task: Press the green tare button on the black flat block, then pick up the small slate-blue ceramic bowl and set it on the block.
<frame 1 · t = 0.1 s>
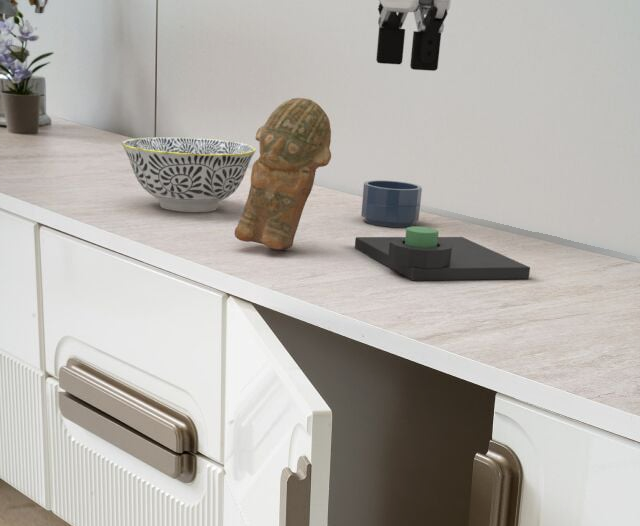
hand: (405, 66, 132), 18 cm above the tv stand, tool pointing down, fingers open, 9 cm apart
tare button: (421, 238, 111), point 3 cm above the tv stand, slide at 0.1 cm
black flat block: (438, 262, 118), on the tv stand
bowl: (188, 209, 138), on the tv stand
figurine: (281, 251, 119), on the tv stand
small bowl: (389, 222, 138), on the tv stand
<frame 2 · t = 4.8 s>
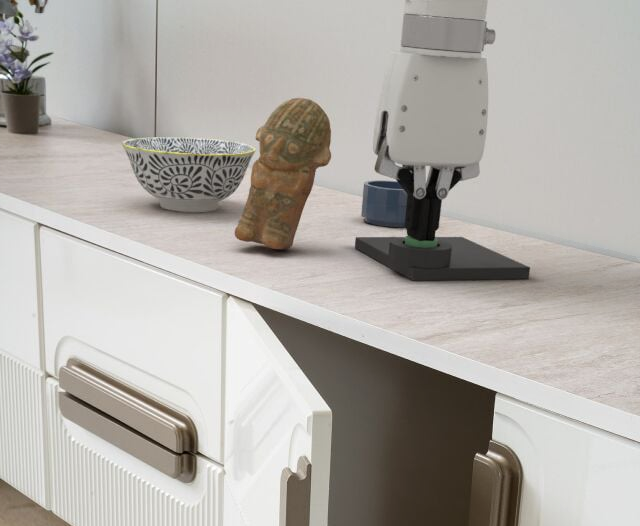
hand: (420, 237, 111), 4 cm above the tv stand, tool pointing down, fingers closed
tare button: (420, 246, 111), point 3 cm above the tv stand, slide at -0.7 cm, touching gripper
everything else where it was.
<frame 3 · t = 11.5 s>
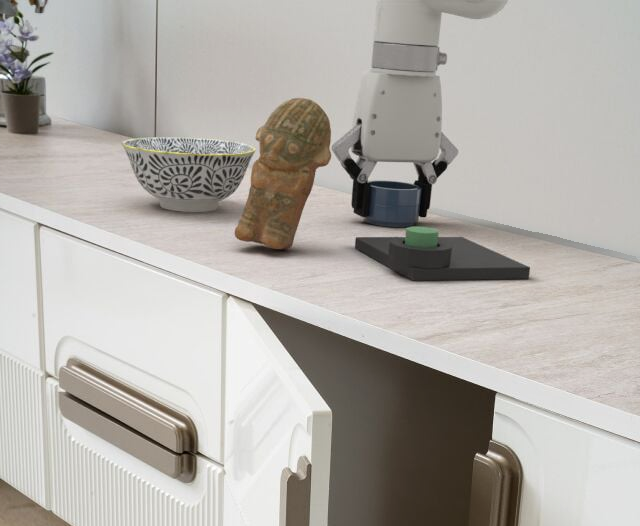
hand: (390, 214, 137), 1 cm above the tv stand, tool pointing down, fingers closed on small bowl, 7 cm apart
tare button: (421, 238, 111), point 3 cm above the tv stand, slide at 0.1 cm
small bowl: (389, 222, 138), on the tv stand, touching gripper
everything else where it was.
when the fingers open (2 cm above the tv stand, at t = 19.3 s): small bowl stays where it is, resting on black flat block.
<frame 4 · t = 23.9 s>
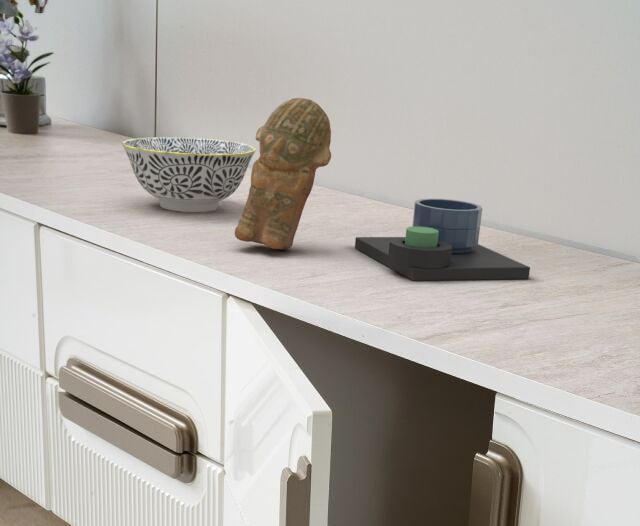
small bowl: (443, 247, 119), point 1 cm above the tv stand, touching black flat block
everything else where it was.
at the end: tare button pushed in 1.1 cm at the most during the clip, back to where it started at the end; small bowl inside the target area on the black flat block (2.5 cm from its centre), point 1.2 cm above the black flat block's base; small bowl touching black flat block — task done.
